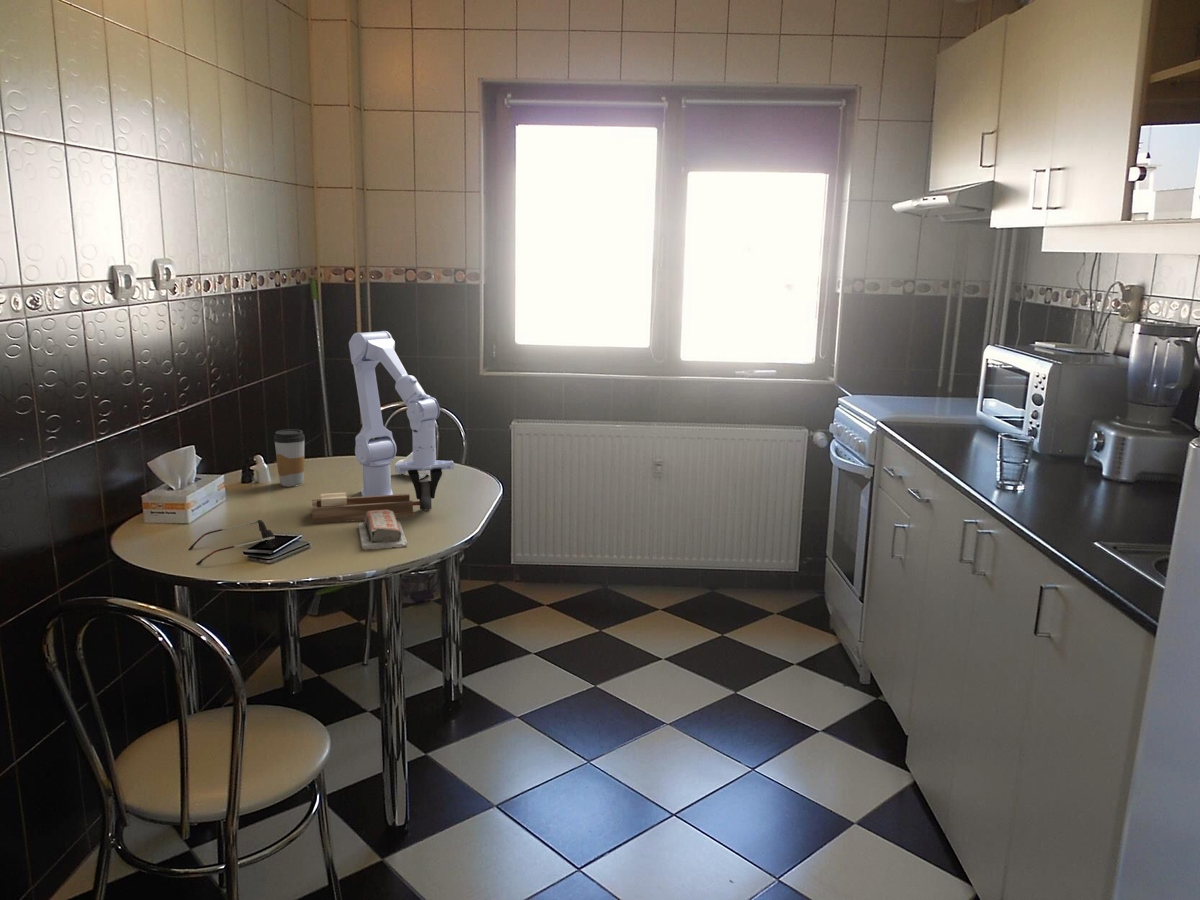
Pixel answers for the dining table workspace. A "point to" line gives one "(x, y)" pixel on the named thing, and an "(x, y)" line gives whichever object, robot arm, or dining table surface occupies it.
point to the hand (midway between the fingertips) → (425, 497)
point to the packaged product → (381, 530)
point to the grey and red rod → (424, 502)
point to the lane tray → (362, 508)
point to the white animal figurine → (410, 459)
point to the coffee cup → (290, 456)
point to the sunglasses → (265, 535)
